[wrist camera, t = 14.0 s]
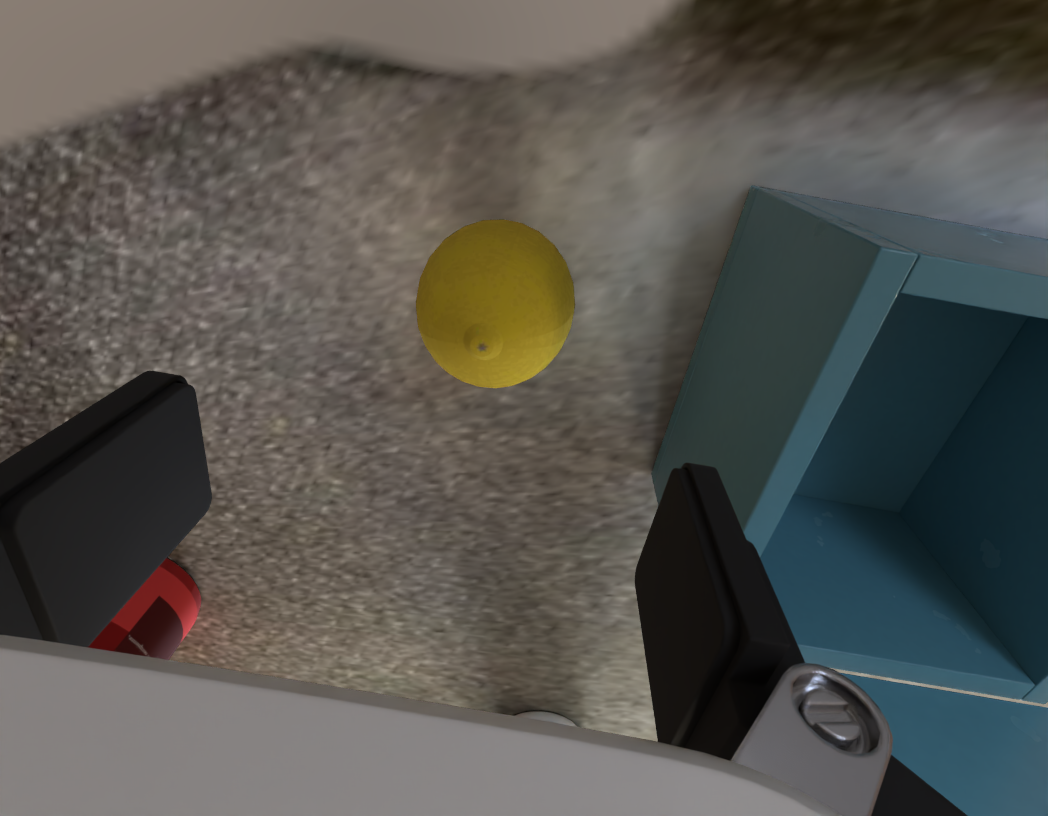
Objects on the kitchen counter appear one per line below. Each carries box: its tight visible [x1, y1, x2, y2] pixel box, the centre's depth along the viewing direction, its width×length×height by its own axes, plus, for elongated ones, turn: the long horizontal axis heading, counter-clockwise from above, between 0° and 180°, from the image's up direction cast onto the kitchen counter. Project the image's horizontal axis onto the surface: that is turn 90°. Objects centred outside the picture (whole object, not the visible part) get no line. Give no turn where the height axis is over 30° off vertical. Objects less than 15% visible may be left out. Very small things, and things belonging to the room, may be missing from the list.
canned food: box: [88, 558, 201, 660], centre depth 30 cm, size 8×8×11 cm
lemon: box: [416, 219, 575, 388], centre depth 19 cm, size 6×6×8 cm
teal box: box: [651, 185, 1048, 704], centre depth 20 cm, size 14×13×10 cm
